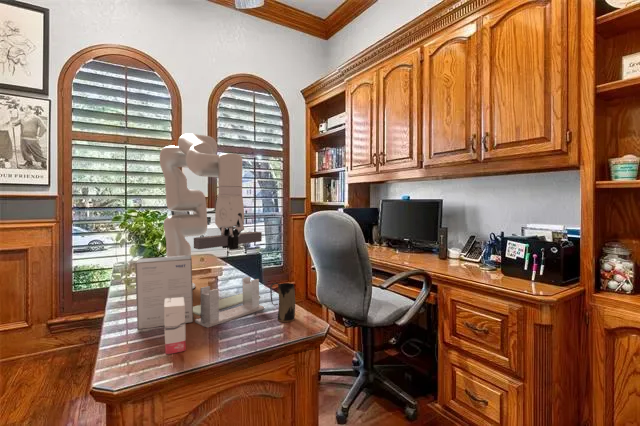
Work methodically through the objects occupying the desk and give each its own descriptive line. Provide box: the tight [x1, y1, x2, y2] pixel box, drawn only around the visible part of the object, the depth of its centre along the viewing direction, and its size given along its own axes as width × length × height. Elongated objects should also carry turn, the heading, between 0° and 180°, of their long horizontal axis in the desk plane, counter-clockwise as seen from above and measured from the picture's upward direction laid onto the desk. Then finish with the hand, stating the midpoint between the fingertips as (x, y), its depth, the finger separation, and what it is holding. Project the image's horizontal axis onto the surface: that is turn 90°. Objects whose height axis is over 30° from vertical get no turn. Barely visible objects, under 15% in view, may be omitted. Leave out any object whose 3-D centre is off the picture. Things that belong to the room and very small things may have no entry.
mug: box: [269, 282, 296, 323], centre depth 103 cm, size 8×6×12 cm
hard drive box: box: [134, 254, 194, 330], centre depth 101 cm, size 16×8×20 cm, turn 111°
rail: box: [193, 231, 263, 250], centre depth 107 cm, size 3×24×3 cm, turn 141°
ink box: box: [163, 297, 187, 355], centre depth 85 cm, size 9×5×12 cm, turn 24°
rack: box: [194, 276, 265, 329], centre depth 107 cm, size 7×22×11 cm, turn 141°
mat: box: [193, 292, 261, 316], centre depth 120 cm, size 8×26×1 cm, turn 141°
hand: (230, 247), depth 107 cm, fingers closed on rail, 3 cm apart
